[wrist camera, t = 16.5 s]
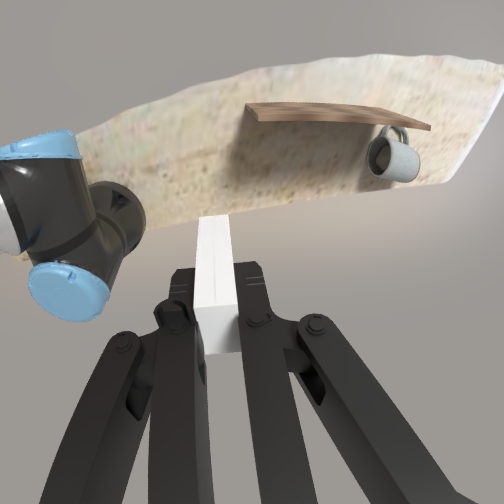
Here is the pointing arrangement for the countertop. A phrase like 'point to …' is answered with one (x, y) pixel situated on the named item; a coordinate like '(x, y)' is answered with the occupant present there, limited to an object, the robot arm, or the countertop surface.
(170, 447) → the robot arm
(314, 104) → the wooden board
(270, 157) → the countertop surface
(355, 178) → the countertop surface
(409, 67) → the countertop surface
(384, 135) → the ceramic mug
